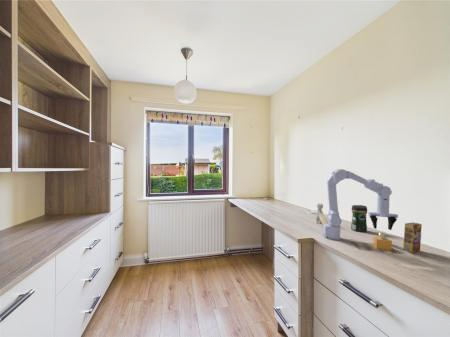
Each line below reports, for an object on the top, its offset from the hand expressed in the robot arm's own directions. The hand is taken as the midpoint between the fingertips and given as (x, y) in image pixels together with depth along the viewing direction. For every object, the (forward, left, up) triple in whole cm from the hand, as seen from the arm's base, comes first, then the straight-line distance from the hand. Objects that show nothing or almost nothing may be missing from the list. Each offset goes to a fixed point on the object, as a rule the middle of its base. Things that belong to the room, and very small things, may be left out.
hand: (382, 228), depth 125 cm
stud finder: (-4, -10, -8) cm, 13 cm away
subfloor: (-8, -10, -9) cm, 16 cm away
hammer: (-26, +29, -10) cm, 41 cm away
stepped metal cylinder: (0, 0, -9) cm, 9 cm away
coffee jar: (-2, +30, -10) cm, 32 cm away
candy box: (+12, -6, -10) cm, 17 cm away
